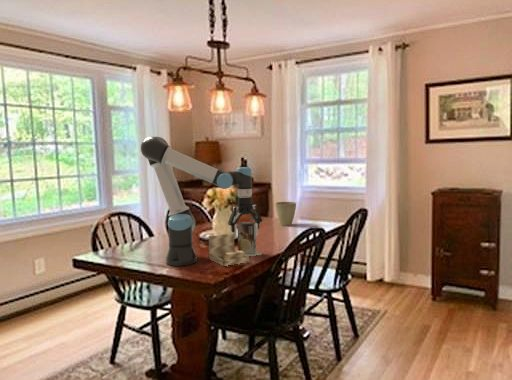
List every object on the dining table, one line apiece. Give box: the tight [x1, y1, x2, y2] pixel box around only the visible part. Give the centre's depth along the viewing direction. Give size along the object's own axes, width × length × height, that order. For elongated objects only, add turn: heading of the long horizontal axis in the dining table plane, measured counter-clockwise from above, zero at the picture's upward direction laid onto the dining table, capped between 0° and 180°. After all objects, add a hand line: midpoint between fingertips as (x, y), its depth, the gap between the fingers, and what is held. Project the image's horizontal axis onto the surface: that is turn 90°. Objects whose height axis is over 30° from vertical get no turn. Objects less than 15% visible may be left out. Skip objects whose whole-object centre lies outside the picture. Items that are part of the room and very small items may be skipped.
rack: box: [208, 232, 250, 267], centre depth 221 cm, size 14×17×12 cm
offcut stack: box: [221, 250, 245, 260], centre depth 216 cm, size 11×4×5 cm, turn 120°
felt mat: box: [245, 250, 262, 257], centre depth 235 cm, size 12×13×1 cm
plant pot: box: [275, 201, 297, 227], centre depth 314 cm, size 15×15×16 cm
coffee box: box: [236, 221, 257, 254], centre depth 234 cm, size 9×6×16 cm
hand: (245, 236), depth 234 cm, fingers open, 12 cm apart
